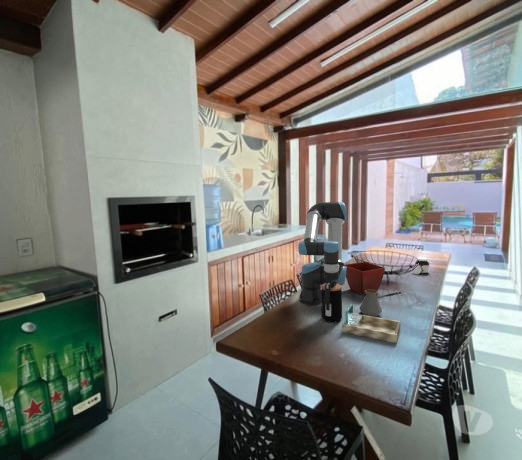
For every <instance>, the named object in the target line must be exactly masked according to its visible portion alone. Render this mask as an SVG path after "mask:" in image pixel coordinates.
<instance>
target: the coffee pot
mask: <svg viewBox="0 0 522 460" xmlns="http://www.w3.org/2000/svg"><path fill="white" fill-rule="evenodd" d="M365 293H366V294H365V296H364V298H363V300H362V302H361V304H360V306H359V310H360V312H361V313H362V315H366V316H372V317H378V316H379V315H380V314H382V312H383V309H382V307H381V304H380V302H379V299H381V298H385V297H393V296H395V295H396V296H397V295H400V296H401V297H403V293H402V291H399V292H398V291H396V292H391V293H387V294H384V295H380V296H377V294H378V291H375V290H365Z"/></svg>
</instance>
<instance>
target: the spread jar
mask: <svg viewBox="0 0 522 460" xmlns="http://www.w3.org/2000/svg"><path fill="white" fill-rule="evenodd" d="M418 263H419V265H418V266H417V267H416V268H415V269H414V270H413V271H412V270H411V273H412V274H414V275H426V274H428V273H429V272H430V262H429V261H428V258H427V257H417V260H416V261H415V262H414V265H415V264H418Z"/></svg>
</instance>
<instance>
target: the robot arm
mask: <svg viewBox="0 0 522 460" xmlns="http://www.w3.org/2000/svg"><path fill="white" fill-rule="evenodd" d="M305 218H306V225H305V226H306V227H305V230H304V231H305V232H304V236H303V241H299V242H298V247H297V249H298V254H299V255H300V256H320V257H321V256H323V265H322V264H321V262H315V261H314V262H308V263H305V264H303V265H302V266H301V289H300V293H299V297H298V299H299V300H298V301H299V303H302V304H305V305H311V306H312V305H314V306H315V305H321V290H322V288H321V285H322V284H325V283H327V284H325V297H324V304H326V316H331V304H330V303H331V296H330V290H331V288H334V286H336V284H340V285H341V286H342V287H343V286H344V285H345V282H346V270H347V267H346V266H344V265H345V263H344V262H343V260H342V259H343V258H342V257H343V253H342V252H343V251H342V249H343V246H342V245H343V224H345V221H346V220H347V218H348V217H347V208H346V204H345V203H344V201H326V202H321V201H320V202H318V203H316V204H314V205H312V206H311V207H310V208H309V209H308V211H307V213H306V217H305ZM321 221H325V223H326V224H327V241H318V234H319V229H320V228H319V227H320V222H321Z"/></svg>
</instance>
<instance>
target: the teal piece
mask: <svg viewBox="0 0 522 460" xmlns="http://www.w3.org/2000/svg"><path fill="white" fill-rule="evenodd" d="M344 312H345V315H344V316H345V321H344V322H343V324H347V325H352V326H357V327H360V325H361V323H362V316H361V315H362V314H360V315H355V314H356V313H354V304H353V303H349V305H348V307H347V308H346V310H345V311H344ZM353 313H354V314H353Z"/></svg>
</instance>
